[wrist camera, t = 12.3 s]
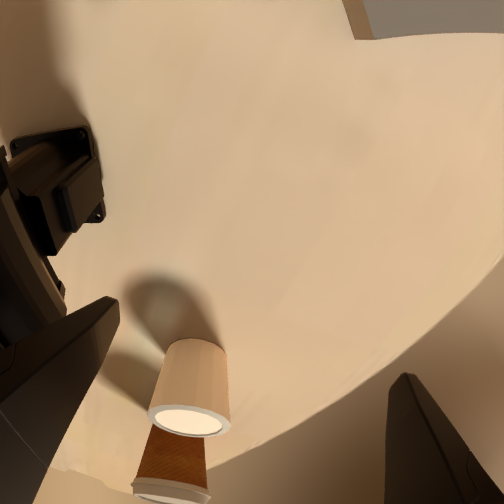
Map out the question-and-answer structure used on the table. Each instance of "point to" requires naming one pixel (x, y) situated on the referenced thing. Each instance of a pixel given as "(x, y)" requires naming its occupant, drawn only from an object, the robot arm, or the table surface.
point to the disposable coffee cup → (172, 469)
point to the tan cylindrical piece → (192, 390)
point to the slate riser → (423, 17)
